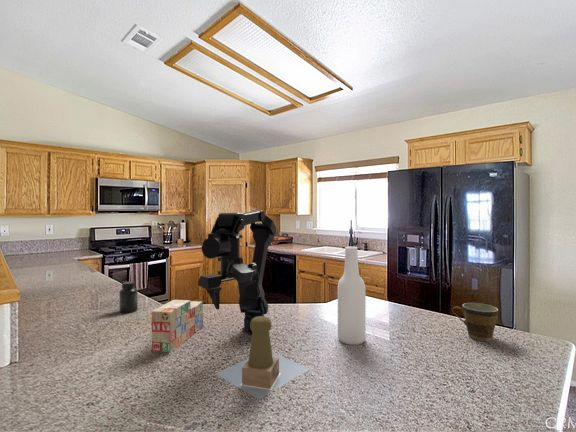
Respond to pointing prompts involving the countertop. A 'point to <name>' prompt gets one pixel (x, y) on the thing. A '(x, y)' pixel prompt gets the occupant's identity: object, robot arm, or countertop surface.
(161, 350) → the stack of blocks
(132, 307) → the supplement bottle
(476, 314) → the ceramic cup
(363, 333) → the alcohol
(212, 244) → the robot arm
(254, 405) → the countertop surface
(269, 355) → the olive pawn
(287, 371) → the mat
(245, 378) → the walnut block
